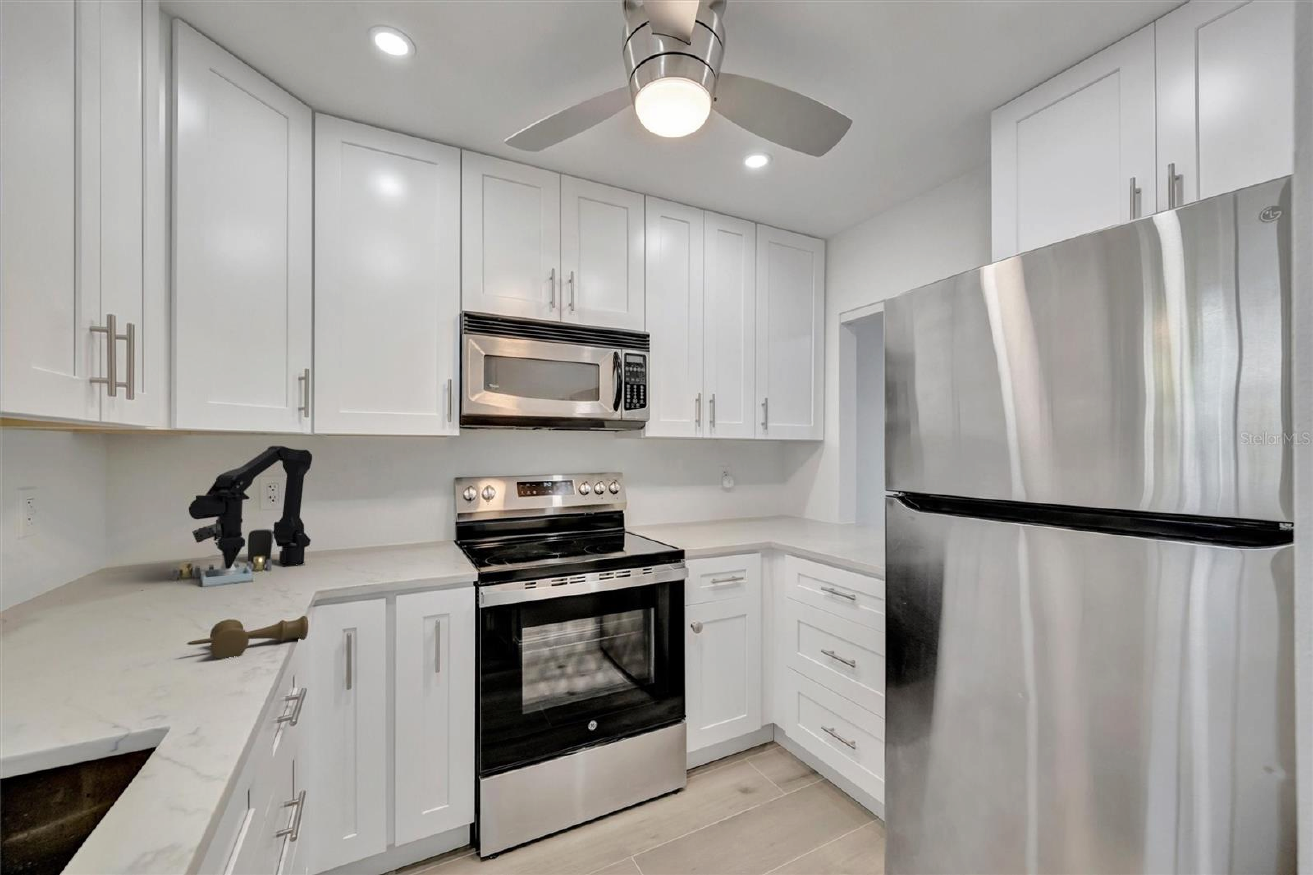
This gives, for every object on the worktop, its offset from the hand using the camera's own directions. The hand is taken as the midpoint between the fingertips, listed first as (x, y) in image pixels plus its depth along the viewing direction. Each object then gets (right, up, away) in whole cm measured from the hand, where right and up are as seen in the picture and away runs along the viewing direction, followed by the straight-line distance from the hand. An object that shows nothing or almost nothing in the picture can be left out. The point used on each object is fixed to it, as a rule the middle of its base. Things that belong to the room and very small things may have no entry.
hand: (227, 567), depth 163 cm
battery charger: (-9, -5, +26) cm, 28 cm away
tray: (0, -4, 0) cm, 4 cm away
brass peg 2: (0, -4, +13) cm, 14 cm away
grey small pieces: (-7, -4, +7) cm, 11 cm away
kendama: (+46, -5, -52) cm, 69 cm away
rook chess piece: (0, -3, 0) cm, 2 cm away
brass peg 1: (-14, -4, +1) cm, 14 cm away
